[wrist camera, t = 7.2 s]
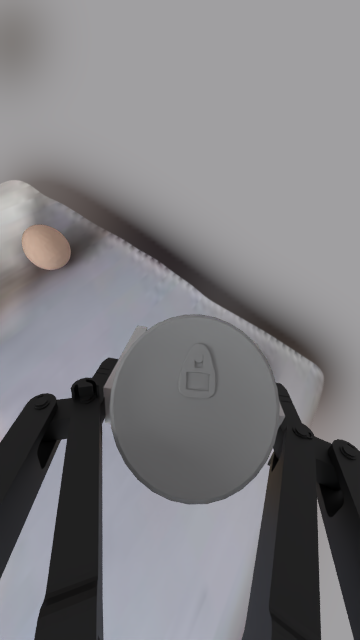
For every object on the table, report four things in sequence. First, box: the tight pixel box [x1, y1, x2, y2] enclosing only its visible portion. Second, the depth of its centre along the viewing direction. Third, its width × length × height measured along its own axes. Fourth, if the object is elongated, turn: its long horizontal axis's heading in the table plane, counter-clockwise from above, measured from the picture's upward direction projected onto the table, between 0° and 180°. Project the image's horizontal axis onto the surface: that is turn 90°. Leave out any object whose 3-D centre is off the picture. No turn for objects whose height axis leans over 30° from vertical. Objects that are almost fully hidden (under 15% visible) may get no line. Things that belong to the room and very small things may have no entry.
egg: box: [22, 225, 71, 270], centre depth 36 cm, size 7×7×8 cm
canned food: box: [110, 315, 280, 504], centre depth 15 cm, size 8×8×11 cm
